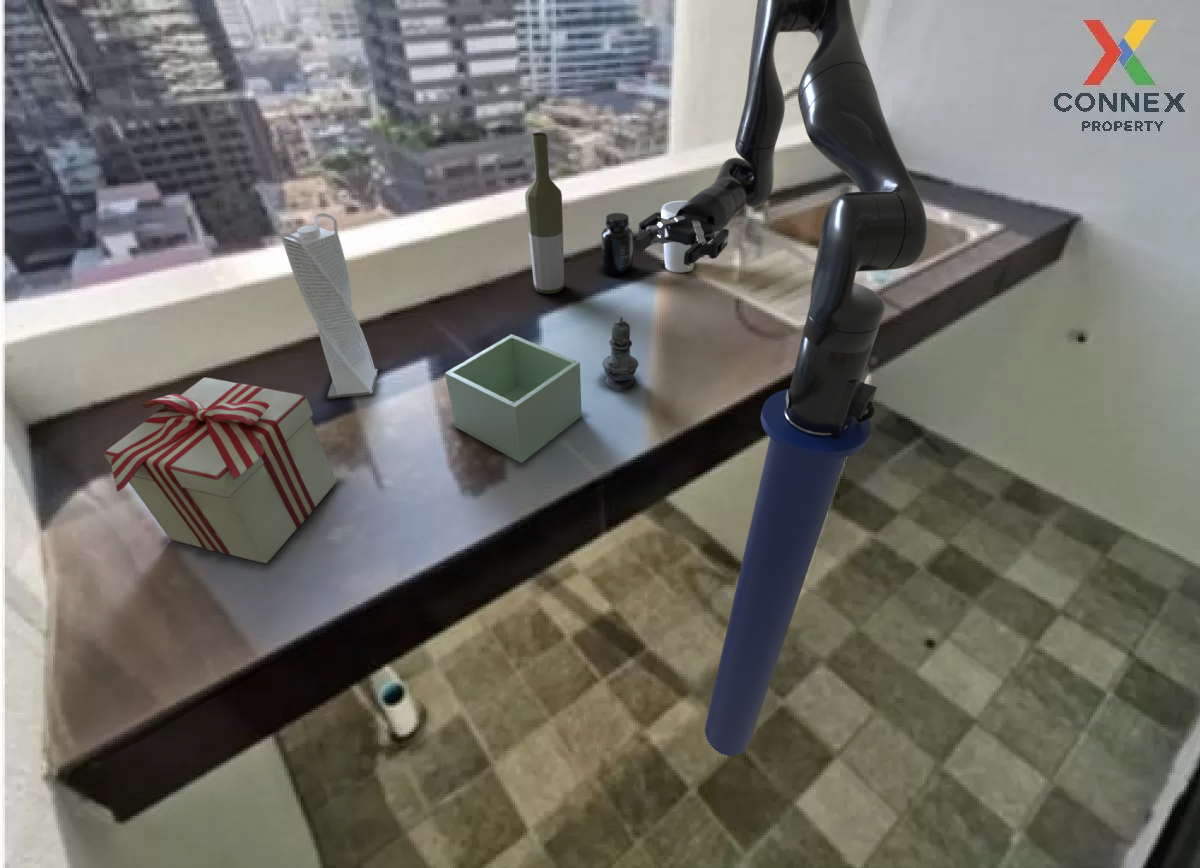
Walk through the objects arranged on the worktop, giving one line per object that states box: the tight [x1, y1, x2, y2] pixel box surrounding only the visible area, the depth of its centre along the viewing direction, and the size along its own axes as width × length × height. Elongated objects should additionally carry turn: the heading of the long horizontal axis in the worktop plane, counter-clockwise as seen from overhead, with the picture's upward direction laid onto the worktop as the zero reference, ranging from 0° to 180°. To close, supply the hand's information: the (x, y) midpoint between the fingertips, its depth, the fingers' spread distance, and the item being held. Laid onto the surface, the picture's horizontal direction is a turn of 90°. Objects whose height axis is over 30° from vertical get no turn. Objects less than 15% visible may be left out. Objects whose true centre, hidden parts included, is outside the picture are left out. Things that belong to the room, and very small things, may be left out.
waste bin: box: [444, 333, 583, 464], centre depth 89 cm, size 14×14×10 cm
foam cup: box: [660, 200, 695, 273], centre depth 131 cm, size 10×9×13 cm
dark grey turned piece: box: [601, 316, 639, 392], centre depth 97 cm, size 6×6×12 cm
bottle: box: [524, 132, 565, 295], centre depth 118 cm, size 7×7×30 cm
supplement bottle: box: [601, 212, 634, 277], centre depth 130 cm, size 7×7×12 cm
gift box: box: [103, 377, 337, 564], centre depth 71 cm, size 17×18×17 cm
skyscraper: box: [281, 212, 379, 399], centre depth 91 cm, size 8×8×28 cm
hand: (661, 252), depth 95 cm, fingers open, 8 cm apart
